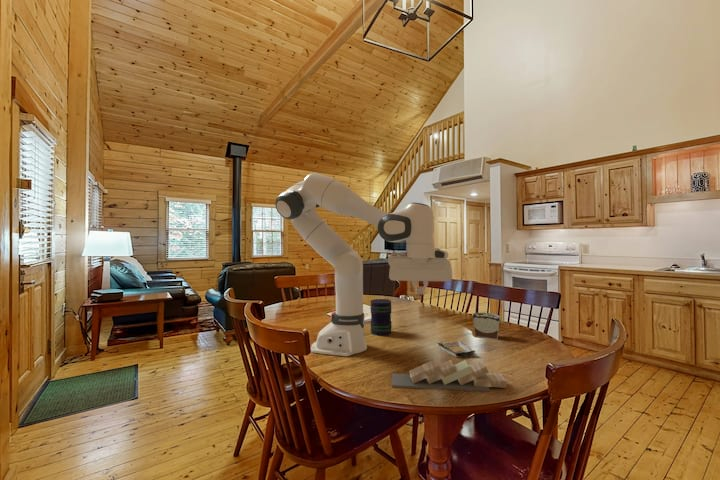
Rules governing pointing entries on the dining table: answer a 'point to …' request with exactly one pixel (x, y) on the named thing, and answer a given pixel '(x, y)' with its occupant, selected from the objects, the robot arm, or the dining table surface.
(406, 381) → the domino mat
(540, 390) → the dining table surface
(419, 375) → the domino
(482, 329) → the food container
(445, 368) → the domino
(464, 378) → the domino
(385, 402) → the dining table surface
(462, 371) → the sage domino
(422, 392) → the dining table surface
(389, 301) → the storage jar
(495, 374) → the domino
